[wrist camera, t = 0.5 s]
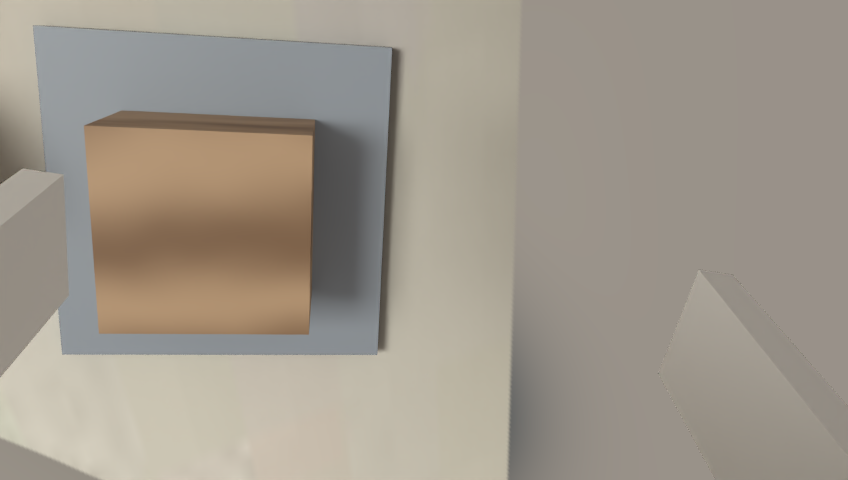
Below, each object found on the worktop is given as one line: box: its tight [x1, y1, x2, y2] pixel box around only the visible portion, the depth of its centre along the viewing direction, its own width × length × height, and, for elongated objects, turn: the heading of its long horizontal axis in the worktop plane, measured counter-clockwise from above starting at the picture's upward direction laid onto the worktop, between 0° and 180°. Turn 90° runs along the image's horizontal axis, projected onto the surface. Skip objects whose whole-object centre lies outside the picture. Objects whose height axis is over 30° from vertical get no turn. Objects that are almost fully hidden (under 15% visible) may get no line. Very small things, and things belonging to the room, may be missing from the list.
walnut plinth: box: [84, 110, 315, 335], centre depth 36 cm, size 10×10×6 cm
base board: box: [33, 26, 392, 355], centre depth 39 cm, size 18×18×1 cm
